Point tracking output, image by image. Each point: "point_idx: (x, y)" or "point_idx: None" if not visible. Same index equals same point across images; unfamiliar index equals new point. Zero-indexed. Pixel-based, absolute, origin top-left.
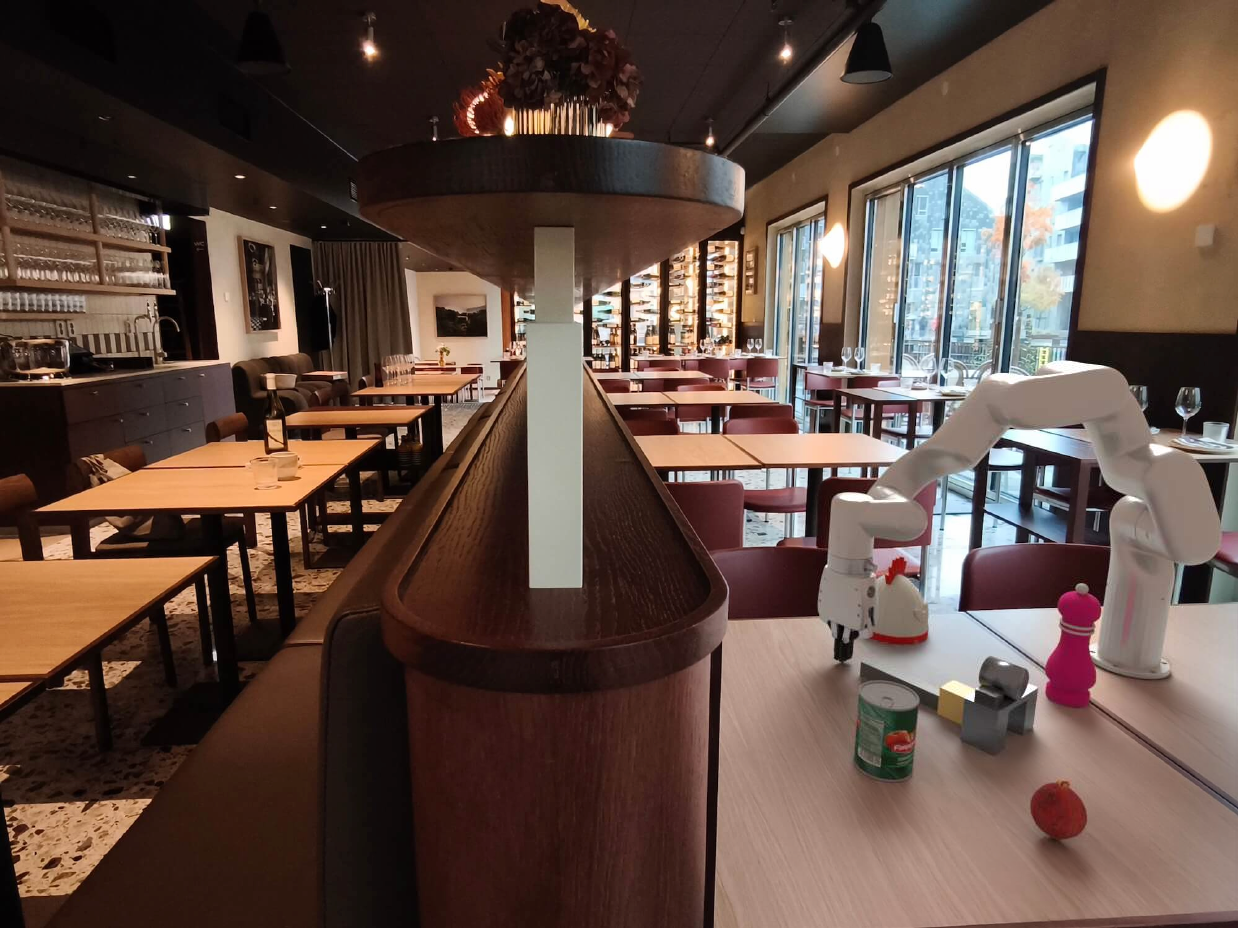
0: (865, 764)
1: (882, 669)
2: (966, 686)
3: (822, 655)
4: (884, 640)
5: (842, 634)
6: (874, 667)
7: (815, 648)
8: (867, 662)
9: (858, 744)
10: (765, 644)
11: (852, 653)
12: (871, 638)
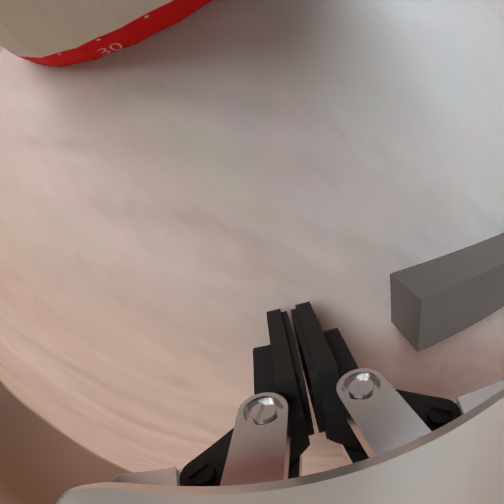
0: None
1: (484, 307)
2: None
3: (200, 353)
4: (193, 6)
5: (303, 434)
6: (465, 326)
7: (138, 339)
8: (435, 330)
9: None
10: (99, 424)
11: (338, 334)
12: (137, 40)
